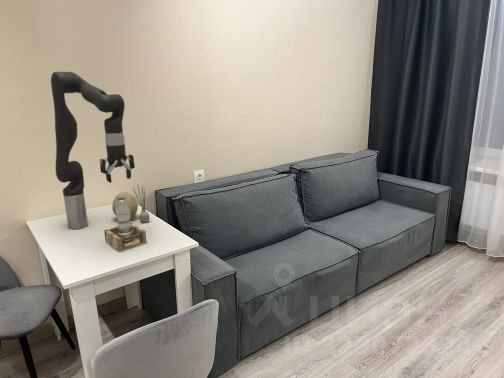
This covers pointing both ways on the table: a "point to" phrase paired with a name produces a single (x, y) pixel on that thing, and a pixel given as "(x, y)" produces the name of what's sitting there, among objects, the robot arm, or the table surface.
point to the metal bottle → (123, 219)
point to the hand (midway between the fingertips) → (119, 180)
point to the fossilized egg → (129, 201)
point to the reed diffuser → (143, 209)
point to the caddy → (119, 243)
